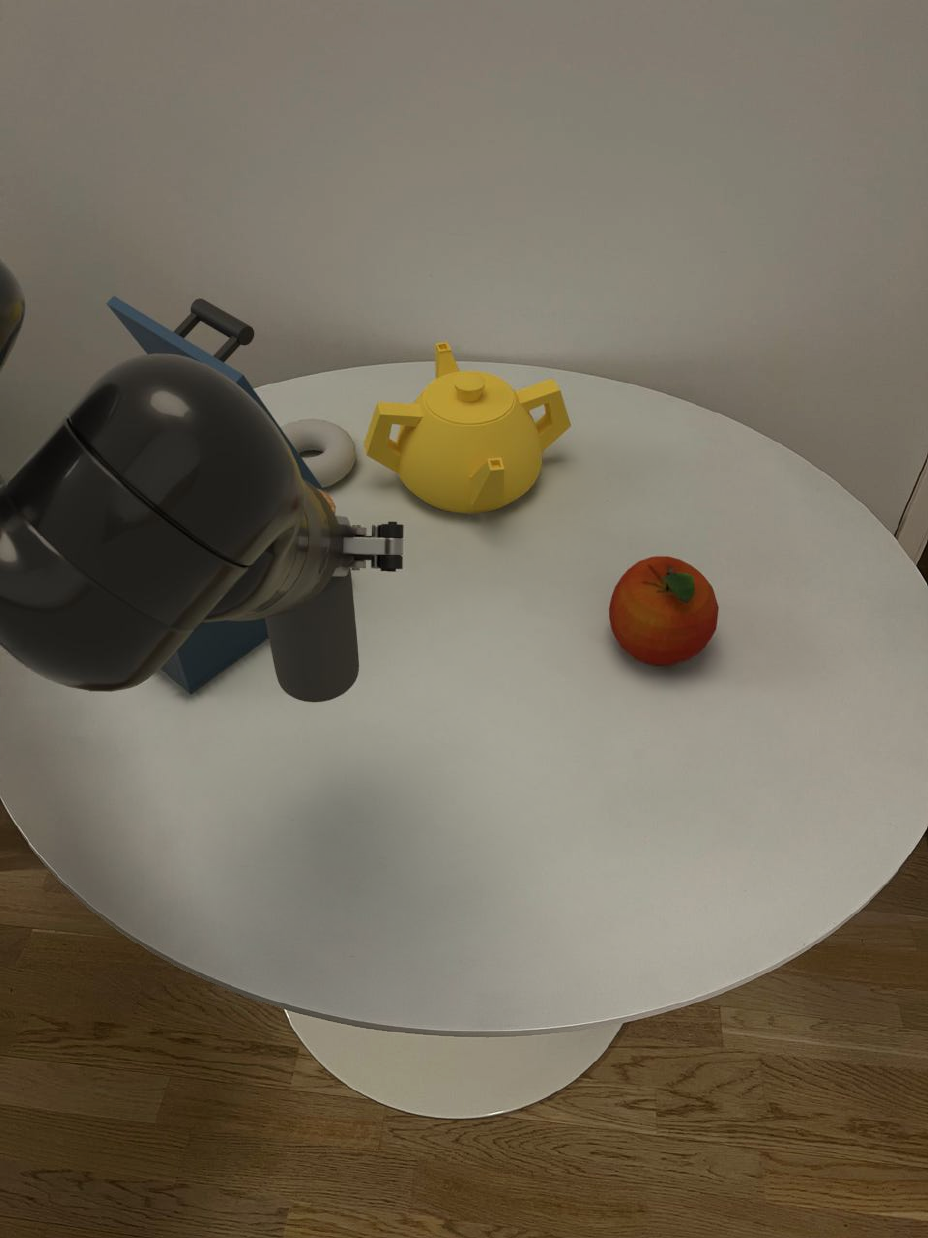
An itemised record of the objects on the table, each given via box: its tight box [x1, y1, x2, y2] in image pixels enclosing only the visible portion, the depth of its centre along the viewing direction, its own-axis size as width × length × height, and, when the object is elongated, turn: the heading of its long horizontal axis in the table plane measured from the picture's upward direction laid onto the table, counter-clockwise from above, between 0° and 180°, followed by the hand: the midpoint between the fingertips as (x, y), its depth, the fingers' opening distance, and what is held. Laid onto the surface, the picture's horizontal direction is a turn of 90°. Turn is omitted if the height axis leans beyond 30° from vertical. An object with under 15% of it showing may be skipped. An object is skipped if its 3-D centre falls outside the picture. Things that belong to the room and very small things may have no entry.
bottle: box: [265, 488, 360, 703], centre depth 65 cm, size 6×6×15 cm
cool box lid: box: [106, 295, 337, 509], centre depth 85 cm, size 19×16×5 cm
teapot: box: [363, 341, 572, 514], centre depth 103 cm, size 17×17×12 cm
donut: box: [280, 418, 357, 489], centre depth 107 cm, size 10×4×10 cm
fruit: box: [608, 555, 720, 667], centre depth 88 cm, size 10×10×10 cm
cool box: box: [159, 618, 269, 695], centre depth 92 cm, size 18×16×9 cm
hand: (306, 547), depth 64 cm, fingers closed on bottle, 5 cm apart
